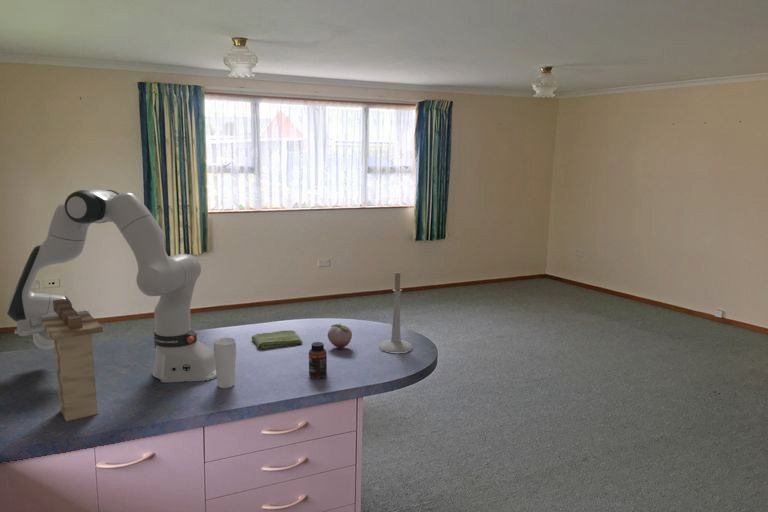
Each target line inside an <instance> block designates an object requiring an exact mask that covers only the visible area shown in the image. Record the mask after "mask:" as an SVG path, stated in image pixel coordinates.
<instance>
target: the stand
mask: <svg viewBox="0 0 768 512" xmlns="http://www.w3.org/2000/svg"><path fill="white" fill-rule="evenodd" d="M89 313H90V312H89ZM89 313H82V314H79V315H80V316H81V317H82V328H78V329H72V330H70V329H69V328H68V327H67V326H66V324H65V323H64V322H63V321H62V320H61V318H60V317H55V318H49V319H42V320H41V323H42V326H43V327H44V329H45V330H46V332H47V333H48V334H49V336H50V337H51V339H52V340H53V341H54V348H53V349H54V357H55V358H54V359H55V367H56V369H55V370H56V379H57V390H58V399H59V400H58V402H59V410H60V412H61V415H62V416H63V418H64V420H65V422H66V423H67V422H71V421H74V420H79V419H82V418H87V417H91V416H94V415H98V413H99V412H98V399H97V388H96V387H97V386H96V377H95V376H96V375H95V364H94V363H95V362H94V349H93V348H94V347H93V339H92V336H93V334H99V333H103V331H104V330H103V326H102V325H101V324H100V323H99V322H98V321H97V320H96V319H95V318H94V317H93V316H92V315H91V313H90V314H89Z"/></svg>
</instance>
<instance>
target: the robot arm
mask: <svg viewBox="0 0 768 512" xmlns="http://www.w3.org/2000/svg"><path fill="white" fill-rule="evenodd" d="M110 222H113V223H114V224H115V225H116V228H118V230H119V232H120V233H121V235H122V237H123V239H124V240H125V241H126V243H127V244H128V246H129V247H130V249H131V251H132V253H133V254H134V257H135V260H136V263H137V269H138V271H137V274H136V279H135V280H136V284H137V285H136V286H137V288H138V289H139V291H140V292H141V293H142V294H143V295H145V296H148V297H159V300H158V302H157V303H156V306H155V308H154V310H153V311H154V312H153V315H154V330H155V331H154V332H153V345H154V348H155V356H154V364H153V368H152V373H151V374H152V376H153V377H154V378H156V379H159V380H160V382H161V383H181V382H184V381H187V382H205V380H207V381H211V380H213V379H215V378H217V377H216V376H217V375H216V367H215V360H214V350H212V349H211V348H210V347H208V346H206V345H205V344H204V343H202V342H200V341H199V340H198V339H197V336H198V335H199V331H198V330H197V331H194V330H193V329H192V328H191V304H192V303H191V302H192V298H193V294H194V290H195V286H196V283H197V280H198V279H199V277H200V275H201V272H202V267H201V264H200V261H199V260H198V259H197V257H196V256H194V255H192V254H189V253H179V254H178V253H177V254H174V255H171V256H169V255H168V253H167V251H166V248H165V242H166V234H165V232H164V231H163V229H162V228H161V226H160V225H159V223H158V222H157V220H156V218H155V217H154V215H153V214H152V212H151V211H150V210H149V208H148V207H147V206H146V205H145V204H144V203H143V202H142V200H141V199H140V198H139V197H138V196H137V195H136V194H134V193H132V192H128V191H127V192H121V193H120V192H118V191H115V190H111V189H97V188H94V189H91V188H90V189H86V190H85V189H80V190H76V191H74V192H72V193H71V194H69V195H68V196H67V197H66V199H65V201H64V202H63V203H60V204H58V205H57V207H56V208H55V211H54V213H53V215H52V219H51V221H50V224H49V228H48V233H47V236H46V239H45V240H44V241H43V242H42V243H41V244H40V245H35V247H34V248H33V249H32V251H31V253H30V254H29V256H28V258H27V260H26V261H27V262H26V263H25V265H24V267H23V270H22V272H21V274H20V277H19V280H18V281H17V284H16V287H15V290H14V292H13V293H12V294H11V296H10V298H9V299H8V302H7V306H6V315H8V316H9V317H10V319H11V320H13V321H15V322H16V323H15V324H16V329H14V334H15V335H16V334H17V335H19V336H20V337H27V336H32V340H33V343H34V345H35V346H36V347H37V348H39V349H40V350H41V349H42V350H50V349H51V350H52V349H55V348H54V341H53V340H52V339H51V337H50V336H49V334H48V333H47V332H46V330H45V329H44V327H43V326H42V323H41V320H42V319H49V318H55V317H59V316H58V315H57V314H56V312H55V311H54V308H53V300H60V299H65V300H66V301H67V302H68V303H69V304H70V306H71V307H72V308H73V305H72V304H73V303H72V302H71V300H70V299H69V298H68V296H66V295H63V294H53V293H42V292H33V291H32V290H31V289H32V286H33V284H34V281H35V279H36V276H37V274H38V273H39V271H40V270H42V269H43V268H45V267H49V266H52V265H57V264H64V263H67V262H70V261H73V260H75V259H77V258H78V257H79V256H80V255H81V254H82V252H83V250H84V246H85V245H86V244H85V243H86V240H87V234H88V229H89V227H90V225H92V224H105V223H110ZM75 311H76V312H77V313H78V314H82V313H89V314H90V315H91V313H90V310H88V309H83V310H78V311H77V310H75ZM210 379H211V380H210Z"/></svg>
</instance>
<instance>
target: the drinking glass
mask: <svg viewBox="0 0 768 512" xmlns="http://www.w3.org/2000/svg"><path fill="white" fill-rule="evenodd" d="M236 342H237V341H236V339H235V338H233V337H219V338H217V339H214V341H213V352H214V360H215V367H216V375H217V377H216V386H217V387H218V388H219V387H220V389H230V388H232V387H234V386H235V377H236V376H235V375H236V373H235V372H236V357H237V354H236V353H237V343H236ZM233 385H234V386H233ZM229 387H230V388H229Z"/></svg>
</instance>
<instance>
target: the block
mask: <svg viewBox="0 0 768 512" xmlns="http://www.w3.org/2000/svg"><path fill="white" fill-rule="evenodd" d="M53 308H54V311H55V312H56V314H57V315H58V316H59V317H60V318H61V320H62V321H63V322H64V323H65V324H66V326H67V327H68V328H69V329H70V330H72V329H78V328H82V317H81V316H80V315H79V314H78V313H77V312H76V311H77V310H75V309H74V307H73V306H72V307H71V306H70V304H69V303H68V302H67V301H66V300H65V299H60V300H53Z"/></svg>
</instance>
